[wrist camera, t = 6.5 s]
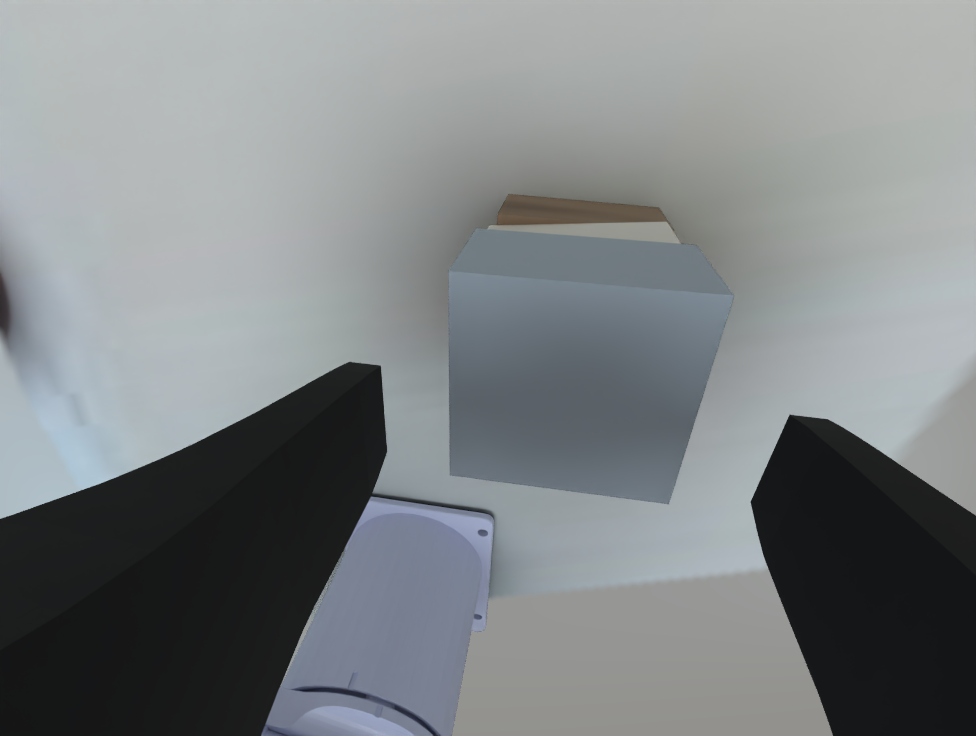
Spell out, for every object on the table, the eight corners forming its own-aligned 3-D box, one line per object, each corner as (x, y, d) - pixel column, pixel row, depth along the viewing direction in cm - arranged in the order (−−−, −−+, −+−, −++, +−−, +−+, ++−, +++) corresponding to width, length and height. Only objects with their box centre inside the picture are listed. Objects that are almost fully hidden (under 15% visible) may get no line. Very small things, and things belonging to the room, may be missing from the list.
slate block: (650, 423, 14) (669, 504, 11) (471, 403, 14) (449, 475, 12) (696, 244, 11) (734, 295, 8) (476, 228, 12) (448, 271, 9)
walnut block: (627, 339, 19) (636, 380, 16) (499, 324, 19) (487, 362, 17) (658, 206, 16) (673, 230, 14) (509, 193, 17) (497, 213, 14)
